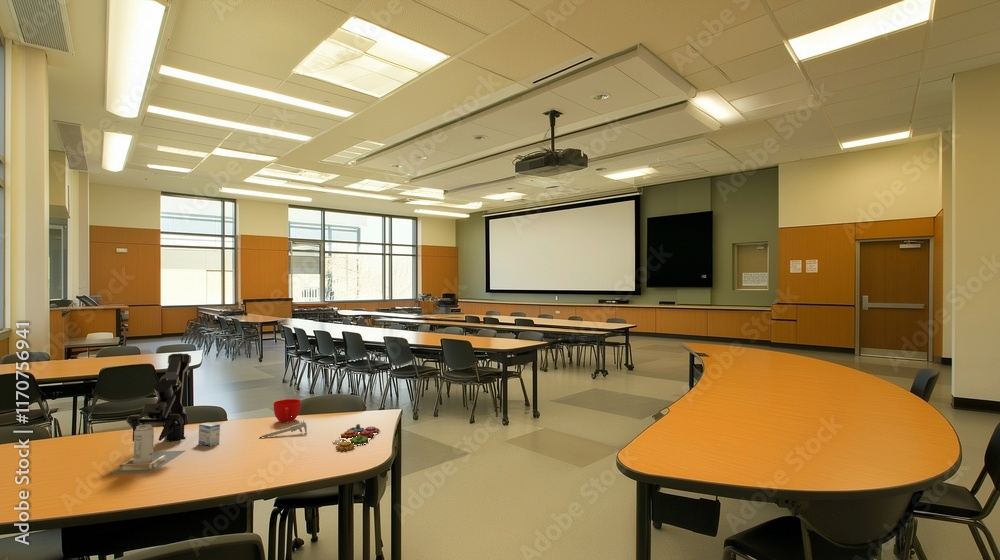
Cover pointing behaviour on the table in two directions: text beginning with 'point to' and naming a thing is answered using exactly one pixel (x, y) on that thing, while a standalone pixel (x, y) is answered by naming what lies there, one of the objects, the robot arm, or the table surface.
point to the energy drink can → (143, 444)
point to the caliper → (288, 429)
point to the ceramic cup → (287, 409)
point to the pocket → (141, 464)
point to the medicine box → (209, 434)
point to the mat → (156, 455)
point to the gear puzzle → (360, 438)
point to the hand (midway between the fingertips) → (146, 440)
